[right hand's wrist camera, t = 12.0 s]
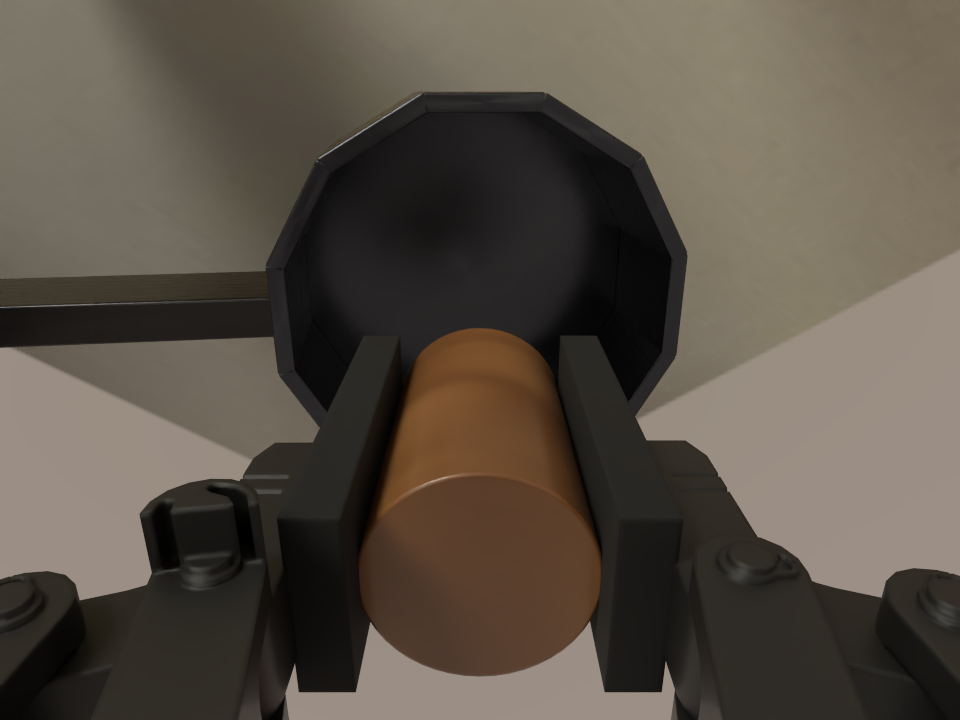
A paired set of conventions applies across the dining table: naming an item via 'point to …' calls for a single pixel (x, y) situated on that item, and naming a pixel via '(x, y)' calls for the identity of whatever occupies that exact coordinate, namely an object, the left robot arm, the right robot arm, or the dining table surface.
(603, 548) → the right robot arm
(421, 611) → the brown wooden cylinder
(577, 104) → the dining table surface
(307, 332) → the saucepan
